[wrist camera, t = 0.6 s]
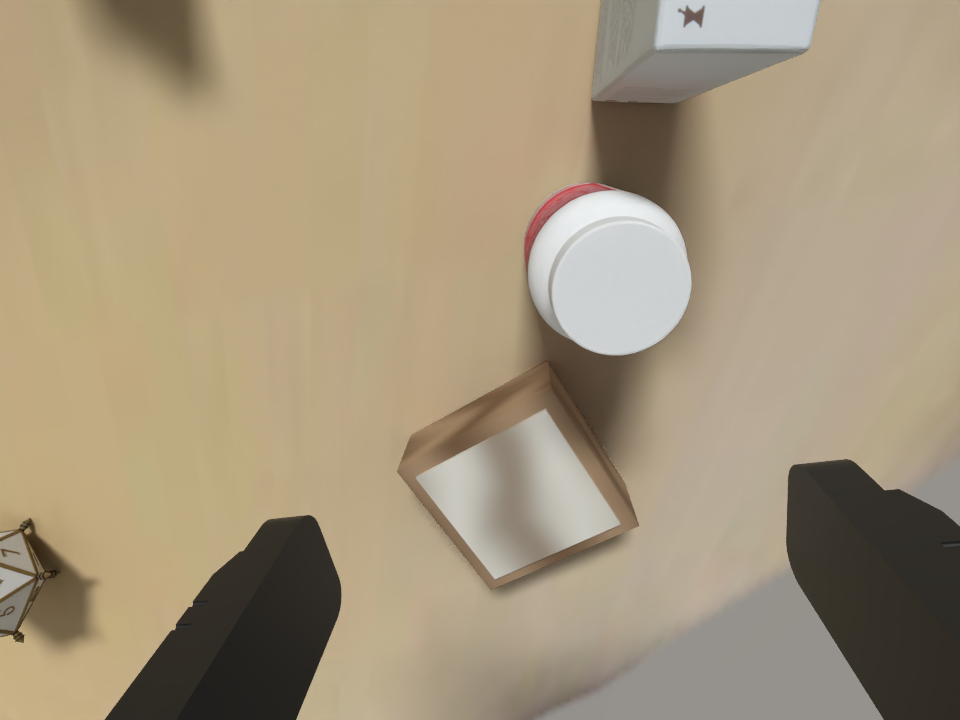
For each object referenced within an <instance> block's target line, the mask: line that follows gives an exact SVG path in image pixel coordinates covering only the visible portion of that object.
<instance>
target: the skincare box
mask: <svg viewBox="0 0 960 720" xmlns="http://www.w3.org/2000/svg"><path fill="white" fill-rule="evenodd" d="M820 2H821V0H602V2H601V12H600V21H599V30H598V40H597V50H596V60H595V70H594V80H593V90H592V101H610V102H640V103H678V102H680V101H683V100H685V99H688V98H691V97H694V96H696V95H698V94H701V93H704V92H706V91H709V90H711V89H714V88H716V87H719V86H721V85H724V84H727V83H729V82H731V81H734V80H737V79H739V78H742V77H745V76H747V75H750V74H752V73H755V72H757V71H760V70H763V69H765V68H767V67H770V66H772V65H775V64H777V63H780V62H783V61H786V60H788V59H791V58H793V57H796V56H798V55H801V54H803V53H805V52H806V51H807V50H808V49H809V48H810V46H811V41H812V36H813V32H814V28H815V23H816V19H817V15H818V11H819V6H820Z"/></svg>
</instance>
